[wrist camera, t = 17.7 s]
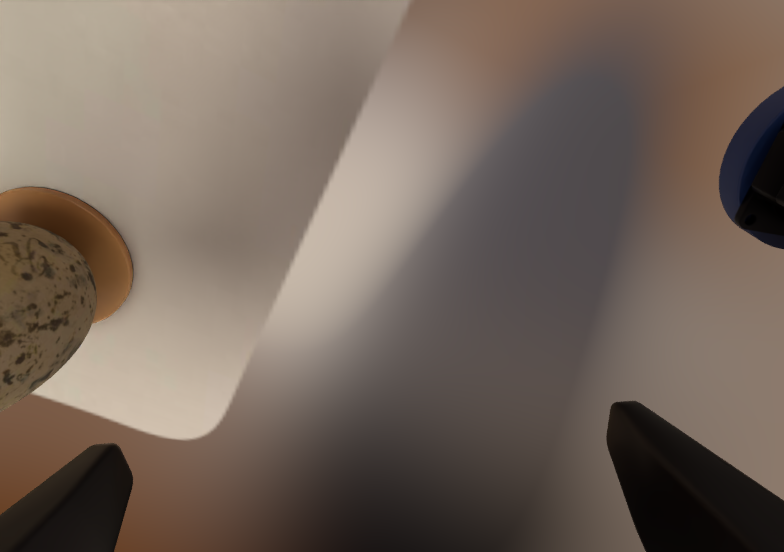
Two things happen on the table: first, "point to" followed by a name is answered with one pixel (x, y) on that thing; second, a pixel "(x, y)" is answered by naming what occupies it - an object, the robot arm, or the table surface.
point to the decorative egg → (39, 307)
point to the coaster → (77, 238)
